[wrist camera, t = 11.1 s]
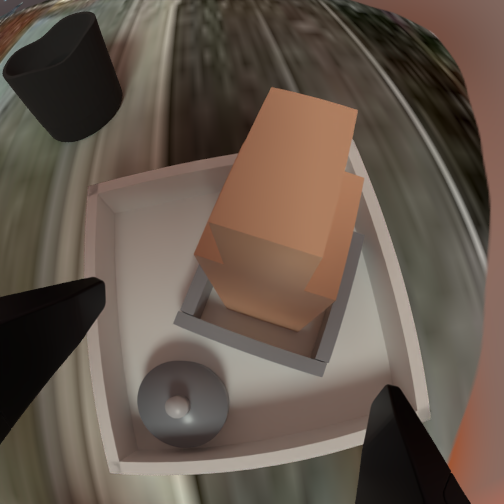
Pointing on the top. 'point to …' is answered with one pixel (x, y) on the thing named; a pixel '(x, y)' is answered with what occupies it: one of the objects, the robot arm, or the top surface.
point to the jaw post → (285, 213)
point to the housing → (232, 337)
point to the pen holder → (67, 78)
